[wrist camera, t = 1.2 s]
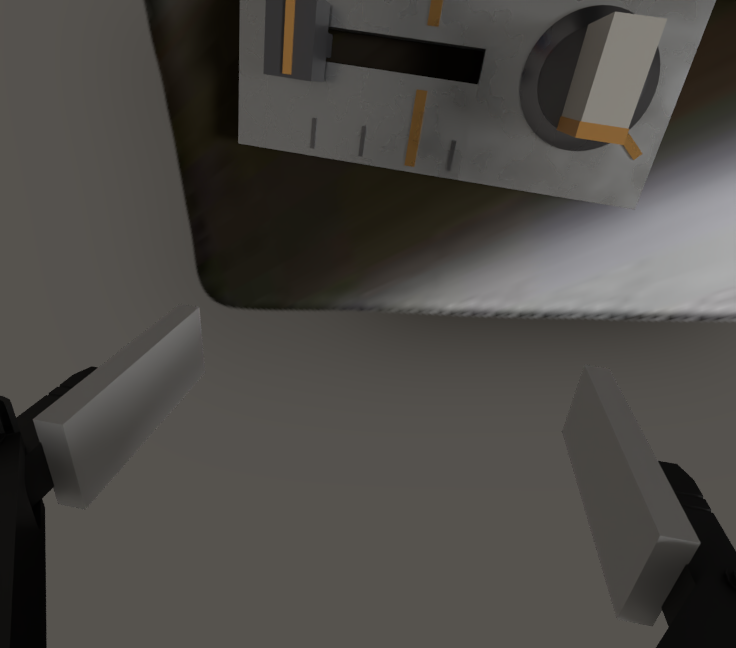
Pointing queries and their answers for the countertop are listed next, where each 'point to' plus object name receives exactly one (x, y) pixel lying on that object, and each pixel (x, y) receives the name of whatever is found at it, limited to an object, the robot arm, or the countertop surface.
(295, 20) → the fader
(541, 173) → the console
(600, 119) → the dial
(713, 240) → the countertop surface
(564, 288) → the countertop surface
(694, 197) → the countertop surface
